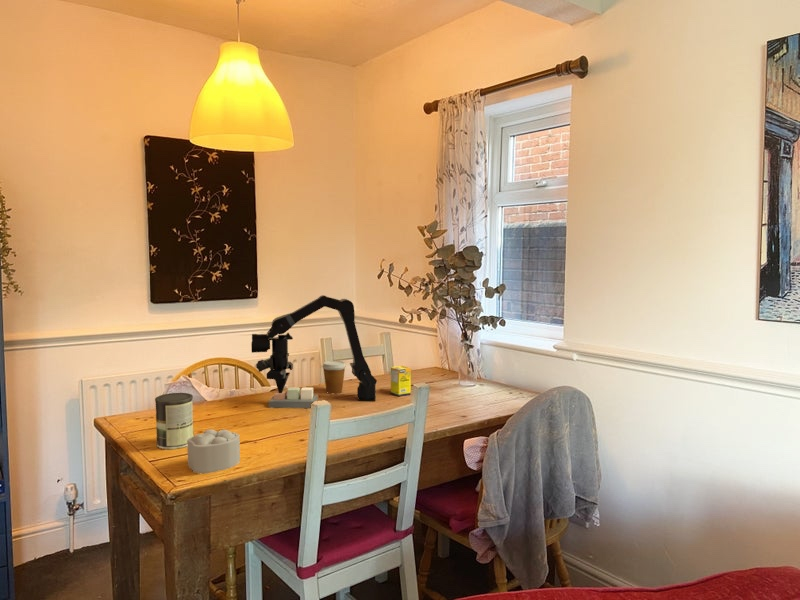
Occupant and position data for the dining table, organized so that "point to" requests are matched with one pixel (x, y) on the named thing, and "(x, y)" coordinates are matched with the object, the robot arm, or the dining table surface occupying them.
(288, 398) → the key mid
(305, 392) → the cream white cube
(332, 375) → the disposable coffee cup
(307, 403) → the keypad base
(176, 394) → the coffee can
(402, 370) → the supplement box
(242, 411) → the dining table surface
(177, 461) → the dining table surface
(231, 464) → the lumpy-topped squat cylinder
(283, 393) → the pink cube
